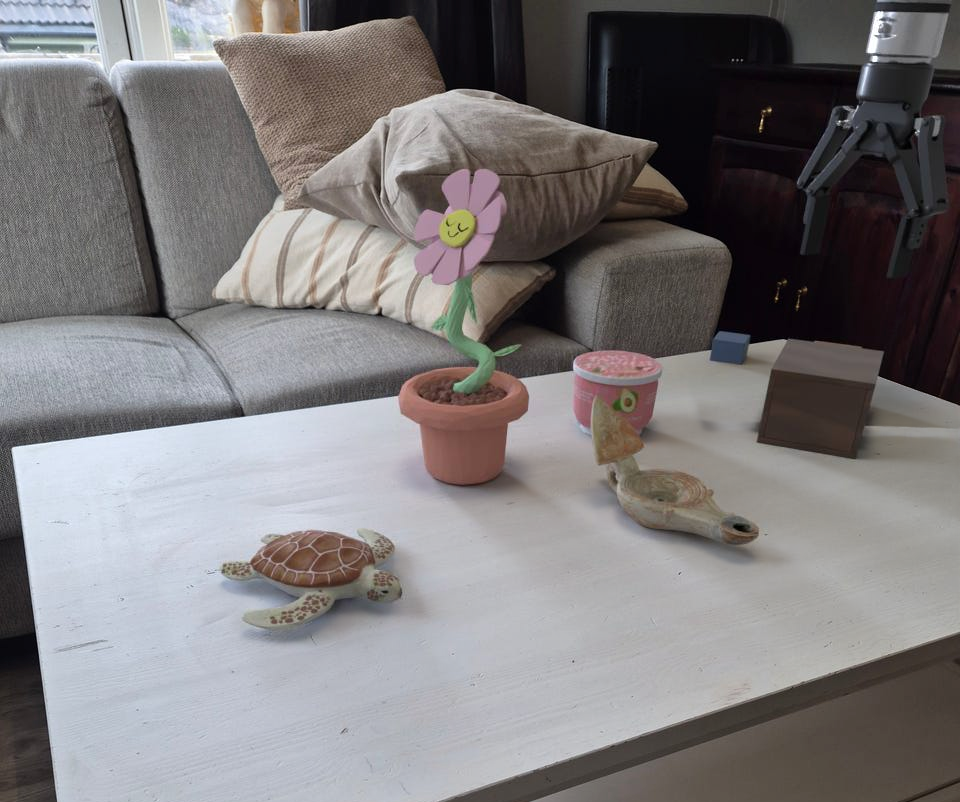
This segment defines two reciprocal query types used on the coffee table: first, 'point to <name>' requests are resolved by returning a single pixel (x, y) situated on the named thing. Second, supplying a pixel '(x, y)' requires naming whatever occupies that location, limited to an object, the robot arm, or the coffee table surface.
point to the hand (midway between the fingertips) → (851, 265)
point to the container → (616, 386)
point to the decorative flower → (463, 342)
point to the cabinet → (819, 397)
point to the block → (730, 347)
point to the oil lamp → (659, 486)
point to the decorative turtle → (317, 573)
